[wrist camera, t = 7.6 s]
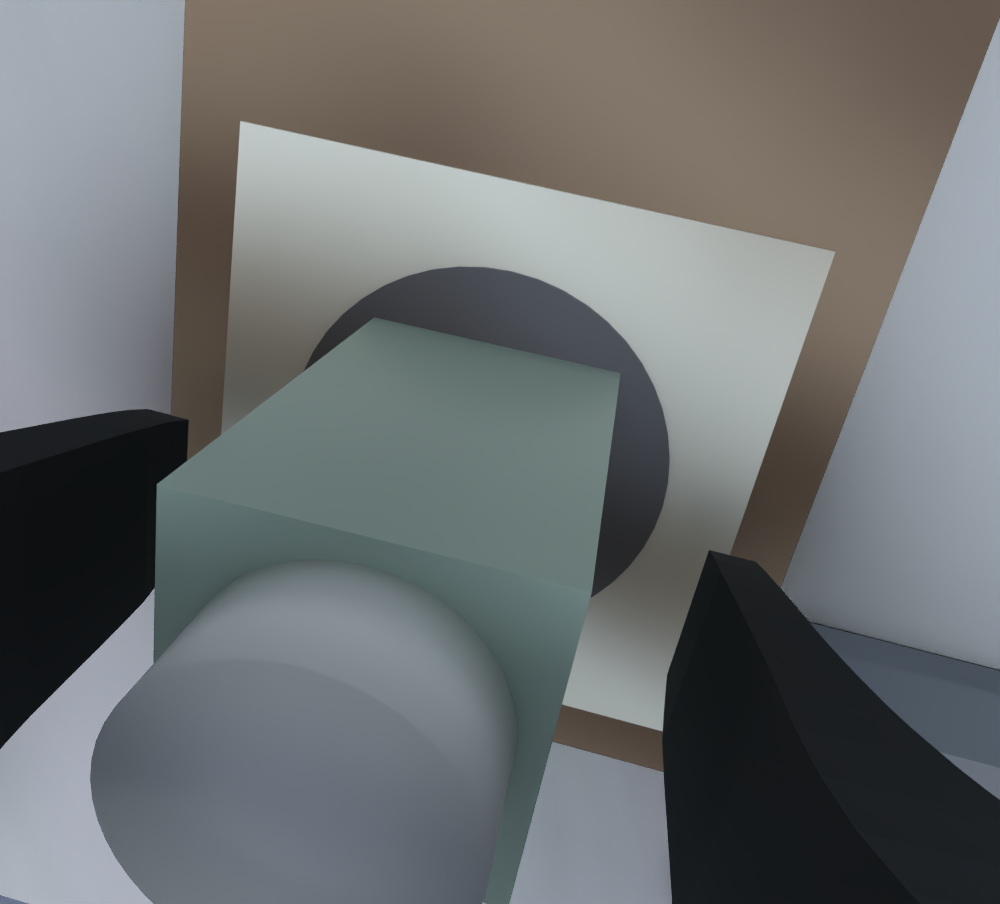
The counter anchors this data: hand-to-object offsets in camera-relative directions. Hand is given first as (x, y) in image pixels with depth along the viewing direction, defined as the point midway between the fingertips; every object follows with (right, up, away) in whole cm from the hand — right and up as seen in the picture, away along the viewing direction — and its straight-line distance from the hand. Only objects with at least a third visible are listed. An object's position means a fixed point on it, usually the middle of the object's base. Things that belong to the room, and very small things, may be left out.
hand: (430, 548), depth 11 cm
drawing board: (+1, +3, +3) cm, 4 cm away
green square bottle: (+1, +1, +3) cm, 3 cm away
